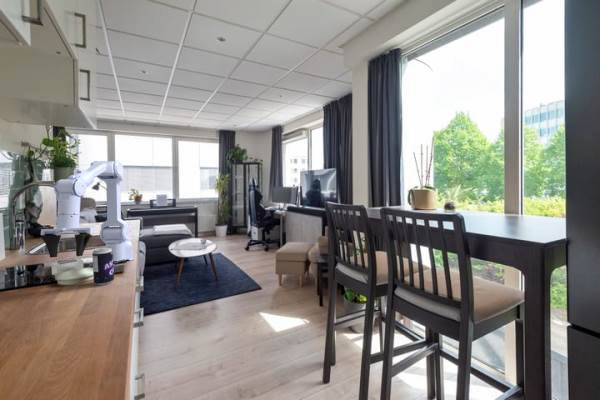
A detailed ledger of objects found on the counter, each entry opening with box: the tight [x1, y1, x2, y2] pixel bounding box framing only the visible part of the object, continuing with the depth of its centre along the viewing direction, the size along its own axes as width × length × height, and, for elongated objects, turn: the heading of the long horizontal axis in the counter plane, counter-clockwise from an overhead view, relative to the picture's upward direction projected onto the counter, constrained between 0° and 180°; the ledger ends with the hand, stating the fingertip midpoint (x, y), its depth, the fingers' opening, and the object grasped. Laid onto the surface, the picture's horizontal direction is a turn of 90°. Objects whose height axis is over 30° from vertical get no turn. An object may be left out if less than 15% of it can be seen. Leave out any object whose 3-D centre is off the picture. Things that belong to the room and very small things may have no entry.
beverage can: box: [91, 246, 115, 286], centre depth 95 cm, size 6×6×12 cm
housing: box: [51, 258, 84, 276], centre depth 105 cm, size 8×5×5 cm, turn 149°
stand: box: [54, 267, 94, 286], centre depth 99 cm, size 12×12×2 cm
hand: (66, 256), depth 90 cm, fingers open, 7 cm apart
